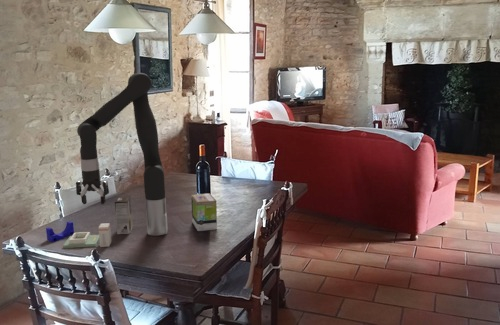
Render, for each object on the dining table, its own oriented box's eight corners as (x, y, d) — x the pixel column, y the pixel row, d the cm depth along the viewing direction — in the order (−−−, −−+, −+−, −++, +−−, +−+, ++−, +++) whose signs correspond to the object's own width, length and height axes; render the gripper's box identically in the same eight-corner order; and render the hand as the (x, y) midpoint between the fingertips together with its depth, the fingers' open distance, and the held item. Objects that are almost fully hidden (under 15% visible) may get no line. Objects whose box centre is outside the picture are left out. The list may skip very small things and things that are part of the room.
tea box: (217, 229, 236) (216, 200, 233) (197, 231, 234) (196, 202, 231) (211, 220, 251) (210, 192, 248) (191, 222, 248) (190, 194, 245)
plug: (111, 241, 222) (110, 223, 220) (109, 246, 216) (107, 227, 215) (102, 242, 222) (100, 223, 220) (99, 247, 216) (98, 227, 214)
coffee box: (119, 228, 241) (117, 196, 237) (132, 227, 241) (130, 196, 238) (116, 234, 232) (114, 201, 228) (130, 233, 232) (128, 201, 229)
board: (100, 236, 229) (100, 230, 228) (95, 246, 217) (95, 239, 216) (70, 238, 227) (69, 231, 227) (63, 248, 216) (62, 241, 215)
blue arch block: (52, 242, 223) (51, 230, 222) (47, 240, 226) (46, 228, 225) (75, 235, 232) (74, 223, 231) (70, 233, 235) (69, 221, 234)
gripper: (109, 166, 217) (112, 201, 220) (79, 166, 219) (82, 201, 222) (101, 170, 210) (105, 206, 213) (70, 170, 212) (74, 206, 215)
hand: (93, 203), depth 218 cm, fingers open, 8 cm apart
